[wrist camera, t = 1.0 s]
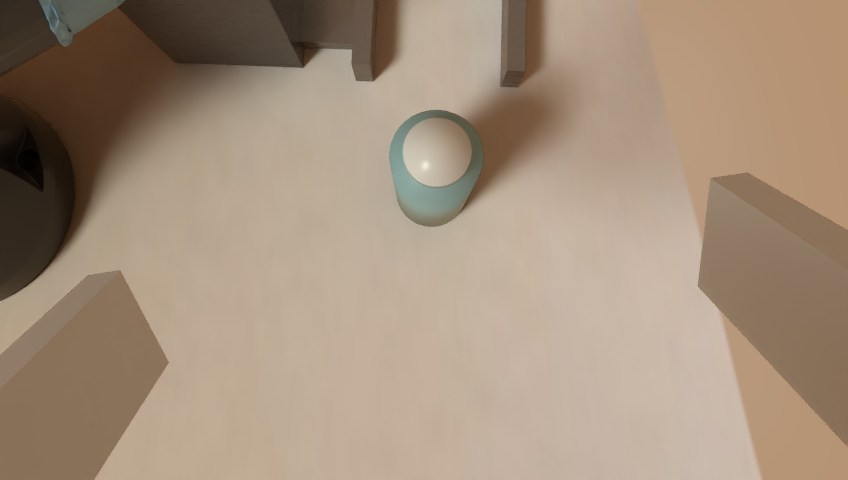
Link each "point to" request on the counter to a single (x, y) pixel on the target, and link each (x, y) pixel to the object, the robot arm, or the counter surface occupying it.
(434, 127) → the white-capped teal cylinder
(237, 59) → the grey flatbed stand
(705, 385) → the counter surface
